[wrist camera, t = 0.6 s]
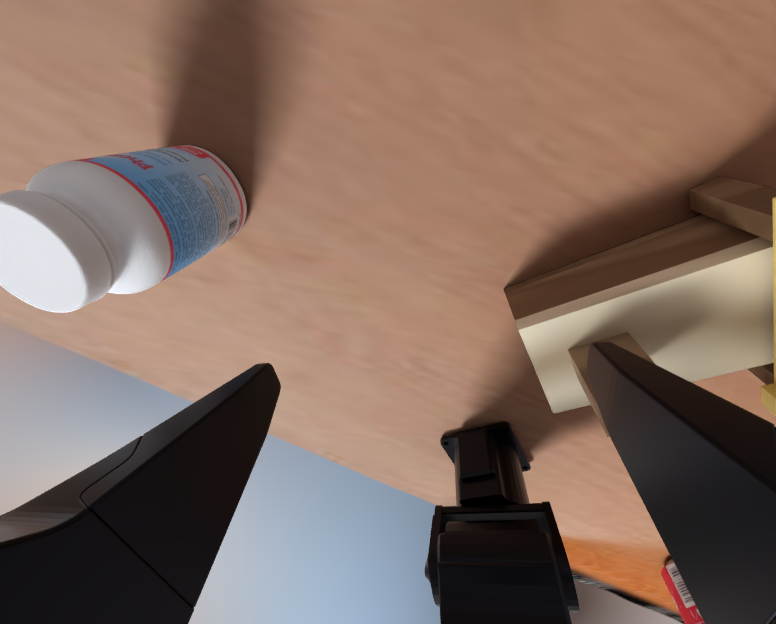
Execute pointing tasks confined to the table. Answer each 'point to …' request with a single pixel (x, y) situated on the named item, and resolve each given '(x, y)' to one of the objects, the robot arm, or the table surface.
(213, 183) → the pill bottle
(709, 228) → the toolbox
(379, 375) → the table surface
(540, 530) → the robot arm
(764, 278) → the lid
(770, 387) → the yellow long bar
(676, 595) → the beverage can
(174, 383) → the table surface
